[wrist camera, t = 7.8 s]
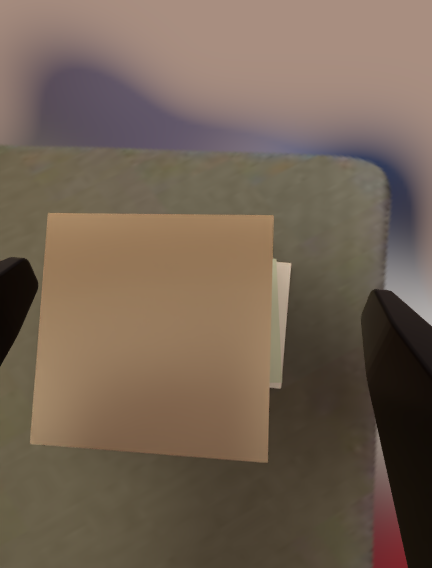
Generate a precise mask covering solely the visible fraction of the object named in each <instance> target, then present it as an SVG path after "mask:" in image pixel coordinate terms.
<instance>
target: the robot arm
mask: <svg viewBox="0 0 432 568" xmlns="http://www.w3.org/2000/svg"><path fill="white" fill-rule="evenodd" d="M37 290H38V281H37V278H36V276H35V274H34V271H33V269H32V267H31V265H30V263H29V261H28V260H27V259H25V258H17V257H10V258H7V259H5V260H3V261H0V366H1V364H2V362H3V361H4V359H5V357H6V355H7V354H8V352H9V350H10V348H11V347H12V345H13V343H14V341H15V339H16V337H17V335H18V333H19V331H20V329H21V327H22V325H23V322H24V320H25V318H26V315H27V313H28V311H29V309H30V306H31V304H32V302H33V299H34V297H35V295H36V292H37ZM361 325H362V336H363V347H364V358H365V369H366V377H367V382H368V387H369V392H370V396H371V401H372V405H373V410H374V414H375V419H376V424H377V428H378V433H379V437H380V442H381V446H382V451H383V455H384V460H385V465H386V469H387V473H388V478H389V483H390V487H391V492H392V496H393V501H394V505H395V510H396V514H397V519H398V524H399V528H400V533H401V538H402V542H403V547H404V551H405V556H406V560H407V565H408V568H432V326H431V325H430V324H428V323H427V322H426V321H425V320H424V319H423V318H422V317H420V316H419V315H418V314H417V313H416V312H415V311H414V310H412V309H411V308H410V307H409V306H408V305H407V304H406V303H404V302H403V301H402V300H401V299H400V298H399V297H398V296H396V295H395V294H394V293H393V292H392V291H388V290H379V289H374V290H372V291H371V293H370V295H369V297H368V300H367V302H366V305H365V307H364V310H363V312H362V316H361Z"/></svg>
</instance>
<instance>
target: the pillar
mask: <svg viewBox="0 0 432 568" xmlns="http://www.w3.org/2000/svg"><path fill="white" fill-rule="evenodd" d="M273 223H274V215H187V214H80V213H48V220H47V233H46V246H45V259H44V271H43V284H42V297H41V310H40V322H39V335H38V348H37V361H36V374H35V386H34V399H33V412H32V425H31V437H30V444H39V445H51V446H64V447H76V448H89V449H101V450H114V451H126V452H139V453H151V454H164V455H176V456H189V457H201V458H214V459H226V460H238V461H251V462H263V463H268V430H269V388H270V347H271V306H272V264H273Z"/></svg>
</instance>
